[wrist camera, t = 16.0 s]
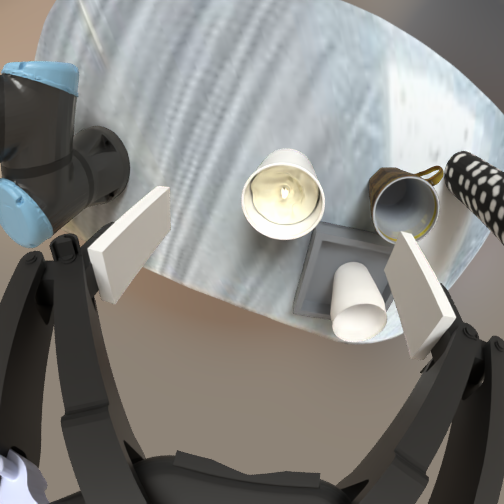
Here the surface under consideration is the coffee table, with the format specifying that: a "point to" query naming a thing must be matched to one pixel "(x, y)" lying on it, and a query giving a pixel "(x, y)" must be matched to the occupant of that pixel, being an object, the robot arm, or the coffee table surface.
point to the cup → (356, 304)
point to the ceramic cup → (404, 202)
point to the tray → (331, 258)
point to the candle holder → (283, 196)
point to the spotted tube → (478, 189)
